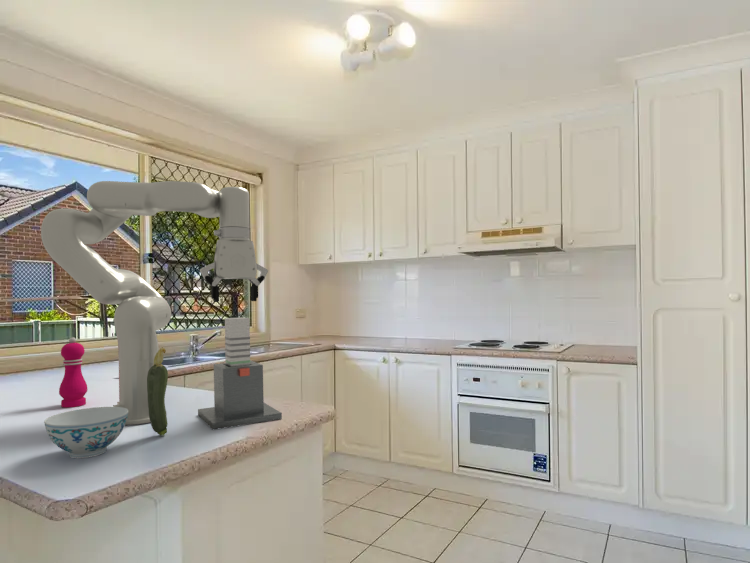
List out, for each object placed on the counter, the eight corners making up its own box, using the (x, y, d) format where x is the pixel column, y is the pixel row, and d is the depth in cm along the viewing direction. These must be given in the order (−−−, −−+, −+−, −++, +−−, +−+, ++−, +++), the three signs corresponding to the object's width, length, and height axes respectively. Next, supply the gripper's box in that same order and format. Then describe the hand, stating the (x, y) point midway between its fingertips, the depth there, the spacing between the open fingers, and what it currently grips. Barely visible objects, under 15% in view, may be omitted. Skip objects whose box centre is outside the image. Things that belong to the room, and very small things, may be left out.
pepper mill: (74, 408, 145) (73, 338, 145) (53, 407, 146) (52, 338, 146) (93, 402, 152) (92, 336, 152) (72, 402, 153) (71, 336, 154)
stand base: (212, 429, 119) (211, 372, 119) (198, 414, 134) (197, 363, 134) (281, 418, 128) (280, 365, 128) (260, 406, 142) (259, 358, 142)
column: (231, 391, 127) (229, 319, 127) (225, 388, 132) (224, 318, 132) (251, 389, 130) (249, 318, 130) (245, 386, 134) (243, 317, 134)
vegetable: (148, 439, 112) (146, 349, 113) (147, 434, 116) (145, 347, 117) (170, 436, 114) (168, 347, 115) (168, 431, 118) (166, 346, 119)
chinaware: (133, 455, 102) (132, 416, 102) (44, 471, 94) (43, 429, 94) (124, 437, 114) (123, 403, 114) (45, 450, 106) (44, 413, 106)
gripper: (203, 232, 124) (203, 302, 123) (271, 235, 132) (272, 301, 132) (197, 235, 130) (197, 302, 130) (262, 238, 139) (263, 300, 139)
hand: (235, 301), depth 131 cm, fingers open, 9 cm apart
